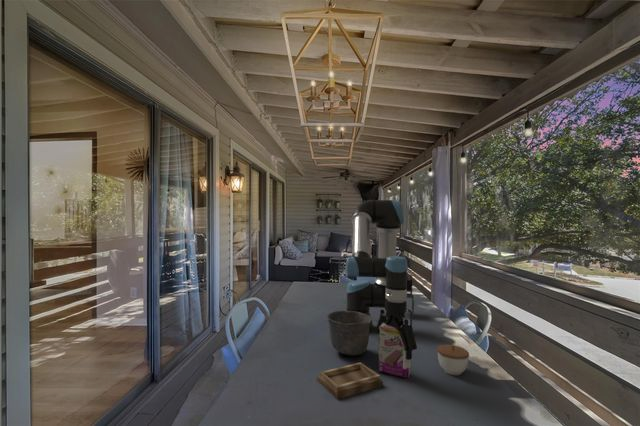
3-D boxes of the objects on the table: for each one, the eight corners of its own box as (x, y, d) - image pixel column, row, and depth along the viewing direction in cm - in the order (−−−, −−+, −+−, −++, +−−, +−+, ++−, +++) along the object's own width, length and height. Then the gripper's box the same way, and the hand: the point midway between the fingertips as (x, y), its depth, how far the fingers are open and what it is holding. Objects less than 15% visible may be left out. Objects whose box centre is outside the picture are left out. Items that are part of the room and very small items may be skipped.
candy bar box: (377, 371, 116) (378, 326, 116) (380, 366, 121) (381, 322, 121) (408, 379, 112) (410, 331, 112) (411, 372, 116) (412, 327, 116)
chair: (411, 310, 196) (411, 274, 196) (414, 319, 179) (414, 279, 179) (389, 309, 198) (390, 273, 198) (390, 317, 181) (390, 278, 181)
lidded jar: (433, 364, 125) (433, 339, 125) (461, 365, 125) (461, 340, 125) (442, 377, 114) (443, 351, 114) (473, 379, 114) (474, 352, 114)
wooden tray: (359, 369, 119) (359, 360, 119) (382, 385, 108) (383, 376, 108) (316, 380, 110) (316, 371, 110) (337, 399, 99) (337, 389, 99)
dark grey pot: (340, 366, 121) (341, 326, 121) (319, 348, 137) (319, 313, 137) (378, 357, 129) (379, 320, 129) (354, 342, 145) (355, 308, 145)
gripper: (367, 293, 125) (365, 349, 125) (412, 310, 104) (411, 378, 104) (382, 291, 129) (381, 346, 129) (429, 307, 108) (427, 372, 108)
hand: (394, 360), depth 116 cm, fingers closed on candy bar box, 11 cm apart
